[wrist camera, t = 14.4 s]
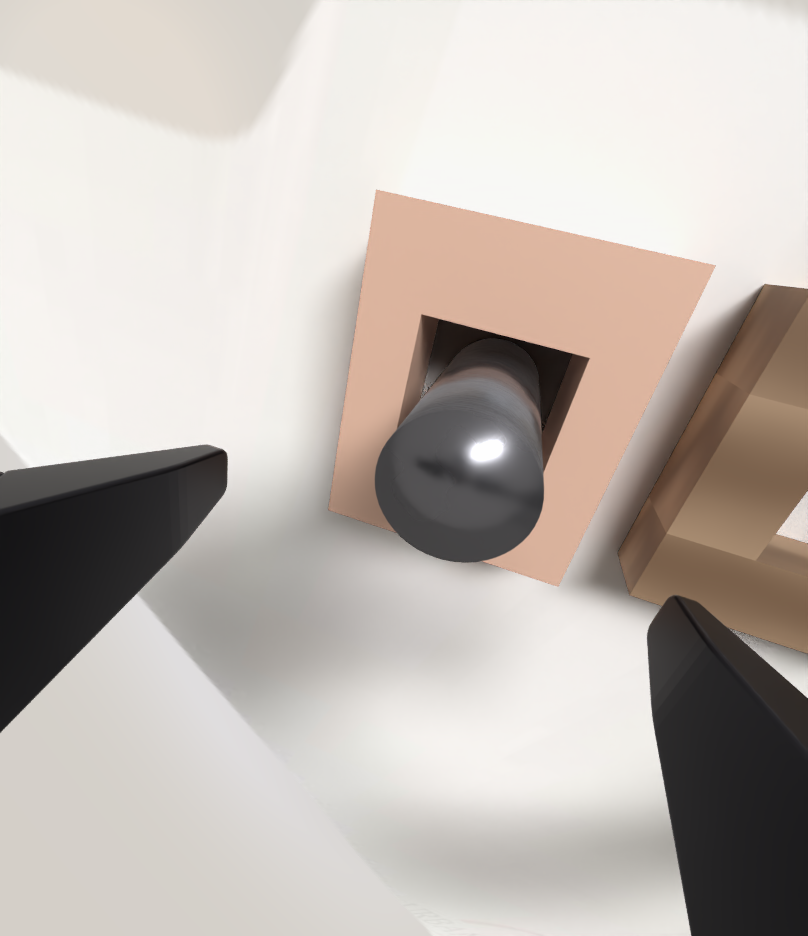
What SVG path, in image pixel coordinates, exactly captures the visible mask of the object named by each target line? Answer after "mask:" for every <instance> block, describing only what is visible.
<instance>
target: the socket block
mask: <svg viewBox="0 0 808 936" xmlns="http://www.w3.org/2000/svg"><path fill="white" fill-rule="evenodd" d="M807 491H808V289H804V288H795V287H786V286H777V285H768V284H765V285H764V287H763V288H762V290H761V292H760V294H759V296H758V297H757V299H756V301H755V303H754V305H753V307H752V308H751V310H750V312H749V314H748V316H747V318H746V319H745V321H744V323H743V325H742V327H741V329H740V330H739V332H738V334H737V336H736V338H735V339H734V341H733V343H732V345H731V347H730V349H729V350H728V352H727V354H726V356H725V358H724V360H723V361H722V363H721V365H720V367H719V369H718V370H717V372H716V374H715V376H714V378H713V380H712V381H711V383H710V385H709V387H708V389H707V391H706V392H705V394H704V396H703V398H702V400H701V401H700V403H699V405H698V407H697V409H696V411H695V412H694V414H693V416H692V418H691V420H690V422H689V423H688V425H687V427H686V429H685V431H684V432H683V434H682V436H681V438H680V440H679V442H678V443H677V445H676V447H675V449H674V451H673V453H672V454H671V456H670V458H669V460H668V462H667V463H666V465H665V467H664V469H663V471H662V473H661V474H660V476H659V478H658V480H657V482H656V484H655V485H654V487H653V489H652V491H651V493H650V495H649V496H648V498H647V500H646V502H645V504H644V505H643V507H642V509H641V511H640V513H639V515H638V516H637V518H636V520H635V522H634V524H633V526H632V527H631V529H630V531H629V533H628V535H627V536H626V538H625V540H624V542H623V544H622V546H621V547H620V549H619V551H618V557H619V560H620V564H621V567H622V571H623V574H624V578H625V581H626V585H627V588H628V592H629V595H630V596H633V597H636V598H640V599H643V600H646V601H649V602H652V603H655V604H658V605H661V606H663V604H664V603H665V601H666V600H667V599H668V598H669V597H670V596H672V595H679V596H682V597H686V598H689V599H692V600H695V601H697V602H699V603H700V604H701V605H702V606H703V607H705V608H706V609H707V610H708V611H709V612H710V613H711V614H713V615H714V616H715V617H716V618H717V619H718V620H719V621H720V622H722V623H723V624H724V625H725V626H726V627H728V628H731V629H734V630H737V631H740V632H743V633H746V634H749V635H752V636H755V637H758V638H761V639H764V640H767V641H770V642H773V643H776V644H779V645H783V646H786V647H789V648H792V649H795V650H798V651H801V652H804V653H807V654H808V544H807V543H804V542H800V541H797V540H794V539H790V538H787V537H784V536H780V535H777V534H776V533H777V531H778V530H779V528H780V527H781V526H782V524H783V523H784V522H785V520H786V519H787V518H788V516H789V515H790V514H791V512H792V511H793V510H794V508H795V507H796V506H797V504H798V503H799V502H800V500H801V499H802V497H803V496H804V495H805V493H806V492H807Z"/></svg>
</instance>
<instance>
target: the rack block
mask: <svg viewBox="0 0 808 936" xmlns="http://www.w3.org/2000/svg"><path fill="white" fill-rule="evenodd" d="M714 268H715V265H711V264H707V263H702V262H698V261H693V260H689V259H684V258H680V257H675V256H671V255H666V254H662V253H657V252H653V251H648V250H644V249H639V248H635V247H630V246H626V245H622V244H617V243H613V242H608V241H604V240H599V239H595V238H590V237H586V236H581V235H577V234H572V233H568V232H563V231H559V230H554V229H550V228H545V227H541V226H537V225H532V224H528V223H523V222H519V221H514V220H510V219H505V218H501V217H496V216H492V215H487V214H483V213H478V212H474V211H469V210H465V209H461V208H456V207H452V206H447V205H443V204H438V203H434V202H429V201H425V200H420V199H416V198H411V197H407V196H402V195H398V194H393V193H389V192H384V191H380V190H376V194H375V200H374V207H373V214H372V220H371V227H370V234H369V241H368V247H367V254H366V261H365V267H364V274H363V281H362V287H361V294H360V301H359V307H358V314H357V321H356V327H355V334H354V341H353V347H352V354H351V361H350V367H349V374H348V381H347V387H346V394H345V401H344V407H343V414H342V421H341V427H340V434H339V441H338V447H337V454H336V461H335V467H334V474H333V481H332V488H331V494H330V501H329V508H328V510H329V511H332V512H335V513H338V514H341V515H344V516H347V517H350V518H353V519H356V520H359V521H362V522H365V523H368V524H371V525H374V526H377V527H380V528H383V529H386V530H389V531H392V532H395V533H397V532H396V531H395V530H394V529H393V528H392V527H391V525H390V524H389V523H388V521H387V520H386V518H385V516H384V514H383V513H382V510H381V508H380V506H379V503H378V500H377V496H376V490H375V470H376V465H377V461H378V458H379V455H380V453H381V451H382V449H383V447H384V446H385V444H386V442H387V441H388V440H389V438H390V437H391V436H392V435H393V433H394V432H395V431H396V430H397V428H398V427H399V426H400V425H401V423H402V422H403V421H404V420H405V418H406V417H407V416H408V415H409V413H410V412H411V411H412V410H413V409H414V407H415V406H416V405H417V404H418V402H419V401H420V399H421V395H422V390H423V386H424V382H425V377H426V373H427V369H428V365H429V360H430V356H431V352H432V348H433V343H434V339H435V335H436V331H437V326H438V322H439V319H442V320H446V321H450V322H453V323H457V324H461V325H465V326H469V327H473V328H476V329H480V330H484V331H488V332H492V333H496V334H500V335H503V336H507V337H511V338H515V339H519V340H523V341H526V342H530V343H534V344H538V345H542V346H546V347H549V348H553V349H557V350H561V351H565V352H569V353H573V354H572V357H571V360H570V362H569V365H568V367H567V370H566V373H565V375H564V378H563V380H562V383H561V386H560V388H559V391H558V393H557V396H556V399H555V401H554V404H553V406H552V409H551V412H550V414H549V417H548V419H547V422H546V425H545V427H544V430H543V432H542V453H543V476H544V501H543V507H542V511H541V514H540V517H539V519H538V521H537V523H536V525H535V527H534V529H533V530H532V531H531V533H530V534H529V535H528V537H527V538H526V539H525V540H524V541H523V542H522V543H520V544H519V545H518V546H517V547H515V548H514V549H512V550H511V551H509V552H507V553H505V554H503V555H501V556H498V557H496V558H493V559H489V560H485V561H482V562H485V563H488V564H491V565H494V566H497V567H500V568H503V569H506V570H509V571H512V572H515V573H518V574H521V575H524V576H527V577H530V578H533V579H536V580H539V581H542V582H545V583H548V584H551V585H555V586H559V584H560V582H561V580H562V578H563V576H564V574H565V572H566V570H567V568H568V566H569V564H570V562H571V560H572V558H573V556H574V554H575V552H576V549H577V547H578V545H579V543H580V541H581V539H582V537H583V535H584V533H585V531H586V529H587V527H588V525H589V523H590V521H591V519H592V517H593V515H594V513H595V511H596V509H597V507H598V505H599V503H600V501H601V499H602V496H603V494H604V492H605V490H606V488H607V486H608V484H609V482H610V480H611V478H612V476H613V474H614V472H615V470H616V468H617V466H618V464H619V462H620V460H621V458H622V456H623V454H624V452H625V450H626V448H627V446H628V444H629V441H630V439H631V437H632V435H633V433H634V431H635V429H636V427H637V425H638V423H639V421H640V419H641V417H642V415H643V413H644V411H645V409H646V407H647V405H648V403H649V401H650V399H651V397H652V395H653V393H654V391H655V388H656V386H657V384H658V382H659V380H660V378H661V376H662V374H663V372H664V370H665V368H666V366H667V364H668V362H669V360H670V358H671V356H672V354H673V352H674V350H675V348H676V346H677V344H678V342H679V340H680V338H681V335H682V333H683V331H684V329H685V327H686V325H687V323H688V321H689V319H690V317H691V315H692V313H693V311H694V309H695V307H696V305H697V303H698V301H699V299H700V297H701V295H702V293H703V291H704V289H705V287H706V285H707V283H708V280H709V278H710V276H711V274H712V272H713V270H714Z"/></svg>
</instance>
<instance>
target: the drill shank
mask: <svg viewBox="0 0 808 936" xmlns="http://www.w3.org/2000/svg"><path fill="white" fill-rule="evenodd" d="M375 490H376V496H377V500H378V503H379V506H380V508H381V510H382V513H383V514H384V516H385V518H386V520H387V521H388V523H389V524H390V525H391V527H392V528H393V529H394V530H395V531H396V532H397V533H398V534H399V536H400V537H402V538H403V539H404V540H405V541H406V542H408V543H409V544H410V545H412V546H413V547H415V548H416V549H418V550H420V551H422V552H424V553H426V554H428V555H431V556H433V557H436V558H440V559H443V560H448V561H453V562H479V561H485V560H489V559H493V558H496V557H498V556H501V555H503V554H505V553H507V552H509V551H511V550H512V549H514V548H515V547H517V546H518V545H519V544H520V543H522V542H523V541H524V540H525V539H526V538H527V537H528V535H529V534H530V533H531V531H532V530H533V529H534V527H535V525H536V523H537V521H538V519H539V517H540V514H541V511H542V507H543V501H544V476H543V453H542V430H541V407H540V384H539V374H538V371H537V368H536V365H535V363H534V361H533V360H532V358H531V357H530V356H529V354H528V353H527V352H526V351H525V350H524V349H522V348H521V347H520V346H518V345H516V344H514V343H512V342H510V341H507V340H503V339H494V338H491V339H483V340H479V341H476V342H474V343H472V344H470V345H468V346H466V347H465V348H463V349H462V350H461V351H460V352H459V353H458V354H457V355H456V356H455V358H454V359H453V360H452V361H451V363H450V364H449V365H448V366H447V367H446V369H445V370H444V371H443V372H442V374H441V375H440V376H439V377H438V379H437V380H436V381H435V382H434V384H433V385H432V386H431V387H430V389H429V390H428V391H427V392H426V394H425V395H424V396H423V397H422V399H421V400H420V401H419V402H418V404H417V405H416V406H415V407H414V409H413V410H412V411H411V412H410V413H409V415H408V416H407V417H406V418H405V420H404V421H403V422H402V423H401V425H400V426H399V427H398V428H397V430H396V431H395V432H394V433H393V435H392V436H391V437H390V438H389V440H388V441H387V442H386V444H385V446H384V447H383V449H382V451H381V453H380V455H379V458H378V461H377V465H376V470H375Z"/></svg>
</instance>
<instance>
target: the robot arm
mask: <svg viewBox="0 0 808 936" xmlns="http://www.w3.org/2000/svg"><path fill="white" fill-rule="evenodd" d="M227 465H228V457H227V453H226V452H225V451H224V450H223V449H220V448H217V447H214V446H211V445H199V446H191V447H184V448H176V449H169V450H161V451H153V452H146V453H138V454H131V455H123V456H116V457H108V458H101V459H93V460H86V461H78V462H71V463H63V464H56V465H48V466H41V467H33V468H26V469H18V470H11V471H7V472H5V473H3V472H0V733H1V731H2V730H3V729H4V728H5V727H6V726H7V725H8V724H9V723H10V722H11V721H12V720H13V719H14V718H15V717H16V716H17V715H18V714H19V713H20V712H21V711H22V710H23V709H24V708H25V707H26V706H27V705H28V704H29V703H30V702H31V701H32V700H33V699H34V698H35V697H36V696H37V695H38V694H39V693H40V692H41V690H43V689H44V688H45V687H46V686H47V685H48V684H49V683H50V682H51V681H52V679H53V678H54V677H55V676H56V675H57V674H58V673H59V672H60V671H61V670H62V669H63V668H64V667H65V666H66V665H67V664H68V663H69V662H70V661H71V660H72V659H73V658H74V657H75V656H76V655H77V654H78V653H79V652H80V651H81V650H82V649H83V648H84V647H85V646H86V645H87V644H88V643H89V642H90V641H91V640H92V639H93V638H94V637H95V636H96V635H97V634H98V633H99V631H101V629H102V628H103V627H104V626H105V625H106V624H107V623H108V622H109V621H110V620H111V619H112V618H113V617H114V616H115V615H116V614H117V613H118V612H119V611H120V610H121V609H122V608H123V607H124V606H125V605H126V604H127V603H128V602H129V601H130V600H131V599H132V598H133V597H134V596H135V595H136V594H137V593H138V592H139V591H140V590H141V589H142V588H143V587H144V586H145V585H146V584H147V583H148V582H149V581H150V580H151V579H152V577H153V576H154V575H155V574H156V573H157V572H158V571H159V570H160V569H161V568H162V567H163V566H164V565H165V564H166V563H167V562H168V561H169V560H170V559H171V558H172V557H173V556H174V555H175V554H176V553H177V552H178V551H179V550H180V549H181V547H182V546H183V545H184V544H185V543H186V541H187V540H188V539H189V538H190V537H191V535H192V534H193V533H194V532H195V530H196V529H197V528H198V526H199V525H200V524H201V523H202V521H203V520H204V519H205V518H206V516H207V515H208V514H209V513H210V511H211V510H212V509H213V507H214V506H215V505H216V504H217V502H218V501H219V500H220V499H221V497H222V496H223V495H224V493H225V490H226V487H227ZM647 646H648V662H649V678H650V694H651V707H652V717H653V723H654V730H655V736H656V741H657V747H658V752H659V758H660V763H661V769H662V775H663V780H664V786H665V791H666V797H667V802H668V808H669V814H670V819H671V825H672V830H673V836H674V841H675V847H676V853H677V858H678V864H679V869H680V875H681V880H682V886H683V892H684V897H685V903H686V908H687V914H688V919H689V925H690V931H691V936H808V698H807V697H806V696H804V695H803V694H802V693H801V692H800V691H799V690H798V689H797V688H795V687H794V686H793V685H792V684H791V683H790V682H789V681H787V680H786V679H785V678H784V677H783V676H782V675H781V674H780V673H778V672H777V671H776V670H775V669H774V668H773V667H772V666H770V665H769V664H768V663H767V662H766V661H765V660H764V659H762V658H761V657H760V656H759V655H758V654H757V653H756V652H755V651H753V650H752V649H751V648H750V647H749V646H748V645H747V644H745V643H744V642H743V641H742V640H741V639H740V638H739V637H737V636H736V635H735V634H734V633H733V632H732V631H731V630H730V629H728V628H727V627H726V626H725V625H724V624H723V623H722V622H720V621H719V620H718V619H717V618H716V617H715V616H714V615H713V614H711V613H710V612H709V611H708V610H707V609H706V608H705V607H703V606H702V605H701V604H700V603H699V602H697V601H695V600H692V599H689V598H686V597H682V596H679V595H672V596H670V597H669V598H668V599H667V600H666V601H665V603H664V604H663V606H662V607H661V609H660V610H659V612H658V613H657V615H656V616H655V618H654V619H653V621H652V623H651V624H650V626H649V629H648V633H647Z"/></svg>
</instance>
